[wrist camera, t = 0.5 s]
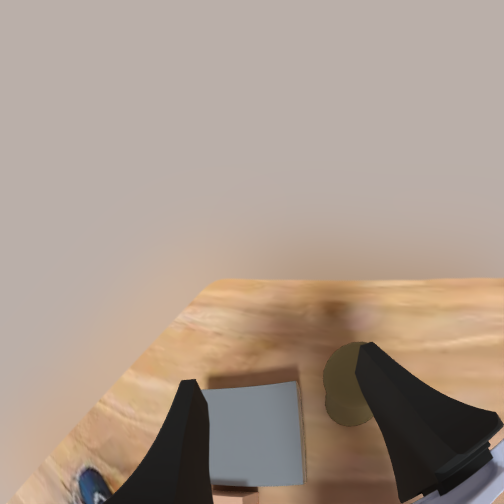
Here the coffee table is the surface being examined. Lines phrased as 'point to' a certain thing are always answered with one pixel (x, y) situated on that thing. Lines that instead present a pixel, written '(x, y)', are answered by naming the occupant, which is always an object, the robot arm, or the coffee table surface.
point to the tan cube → (234, 497)
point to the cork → (345, 388)
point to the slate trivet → (256, 435)
